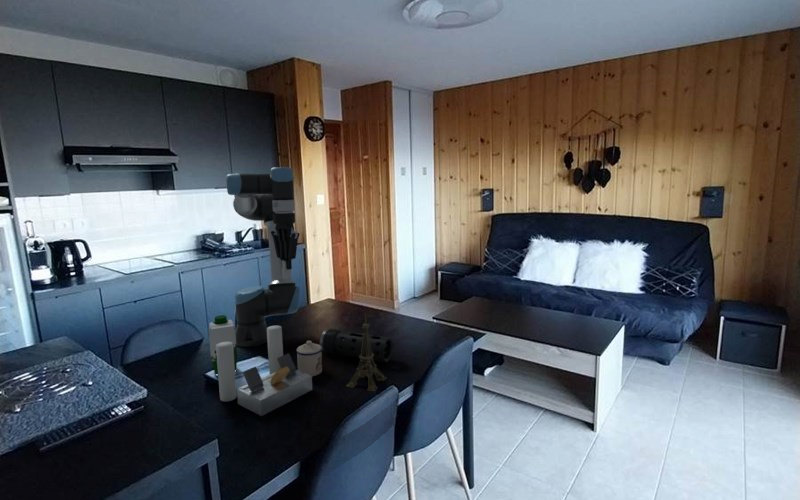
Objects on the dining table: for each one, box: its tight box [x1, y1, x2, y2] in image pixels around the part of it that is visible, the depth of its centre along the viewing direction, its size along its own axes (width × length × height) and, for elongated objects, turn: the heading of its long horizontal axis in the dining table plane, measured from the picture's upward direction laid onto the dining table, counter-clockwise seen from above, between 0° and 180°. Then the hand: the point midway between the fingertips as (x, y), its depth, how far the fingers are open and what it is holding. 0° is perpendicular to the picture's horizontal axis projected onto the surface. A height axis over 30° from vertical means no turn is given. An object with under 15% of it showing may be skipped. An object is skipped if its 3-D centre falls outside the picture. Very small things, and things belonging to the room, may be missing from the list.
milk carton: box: [208, 315, 238, 374], centre depth 158 cm, size 9×9×20 cm
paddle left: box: [242, 366, 264, 392], centre depth 135 cm, size 2×4×7 cm
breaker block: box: [236, 369, 313, 417], centre depth 140 cm, size 12×20×5 cm, turn 143°
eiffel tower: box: [345, 312, 388, 393], centre depth 148 cm, size 11×11×25 cm
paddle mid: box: [270, 366, 290, 385], centre depth 138 cm, size 2×4×7 cm
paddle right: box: [277, 353, 297, 376], centre depth 145 cm, size 2×4×7 cm
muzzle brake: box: [319, 328, 394, 364], centre depth 170 cm, size 10×28×10 cm, turn 68°
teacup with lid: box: [295, 340, 323, 377], centre depth 159 cm, size 12×9×12 cm
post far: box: [267, 325, 284, 375], centre depth 153 cm, size 5×5×18 cm
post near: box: [216, 342, 237, 402], centre depth 138 cm, size 5×5×18 cm
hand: (287, 277), depth 156 cm, fingers closed
